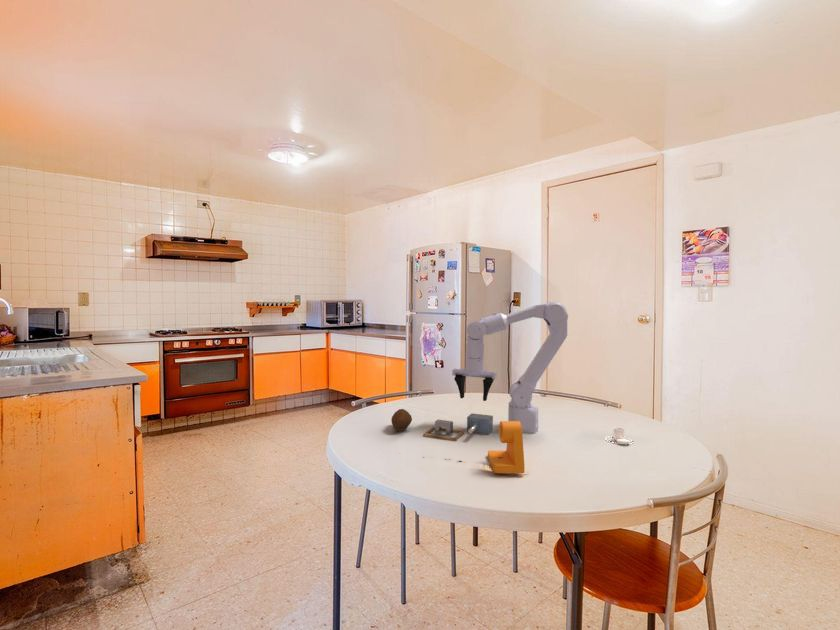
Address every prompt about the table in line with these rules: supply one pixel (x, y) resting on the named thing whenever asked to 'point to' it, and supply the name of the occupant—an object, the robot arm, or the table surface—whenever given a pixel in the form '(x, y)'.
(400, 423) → the potato
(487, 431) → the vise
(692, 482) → the table surface
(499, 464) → the bracket
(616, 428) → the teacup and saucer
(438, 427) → the block
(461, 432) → the tray
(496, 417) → the table surface
